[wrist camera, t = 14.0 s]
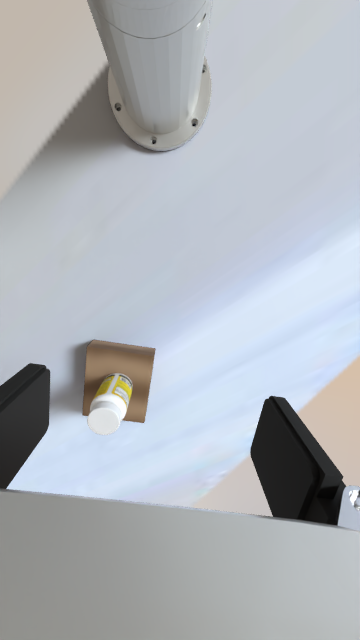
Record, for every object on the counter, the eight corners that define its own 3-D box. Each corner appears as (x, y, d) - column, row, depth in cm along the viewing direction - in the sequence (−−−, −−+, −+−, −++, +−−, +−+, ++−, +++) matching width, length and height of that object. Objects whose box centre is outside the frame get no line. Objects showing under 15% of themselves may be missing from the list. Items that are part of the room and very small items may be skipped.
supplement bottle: (102, 397, 39) (83, 436, 31) (103, 370, 38) (83, 403, 30) (132, 400, 39) (121, 439, 31) (134, 373, 38) (123, 407, 30)
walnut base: (93, 339, 40) (87, 346, 37) (155, 348, 40) (153, 356, 37) (88, 404, 43) (82, 415, 40) (146, 411, 43) (144, 422, 40)
